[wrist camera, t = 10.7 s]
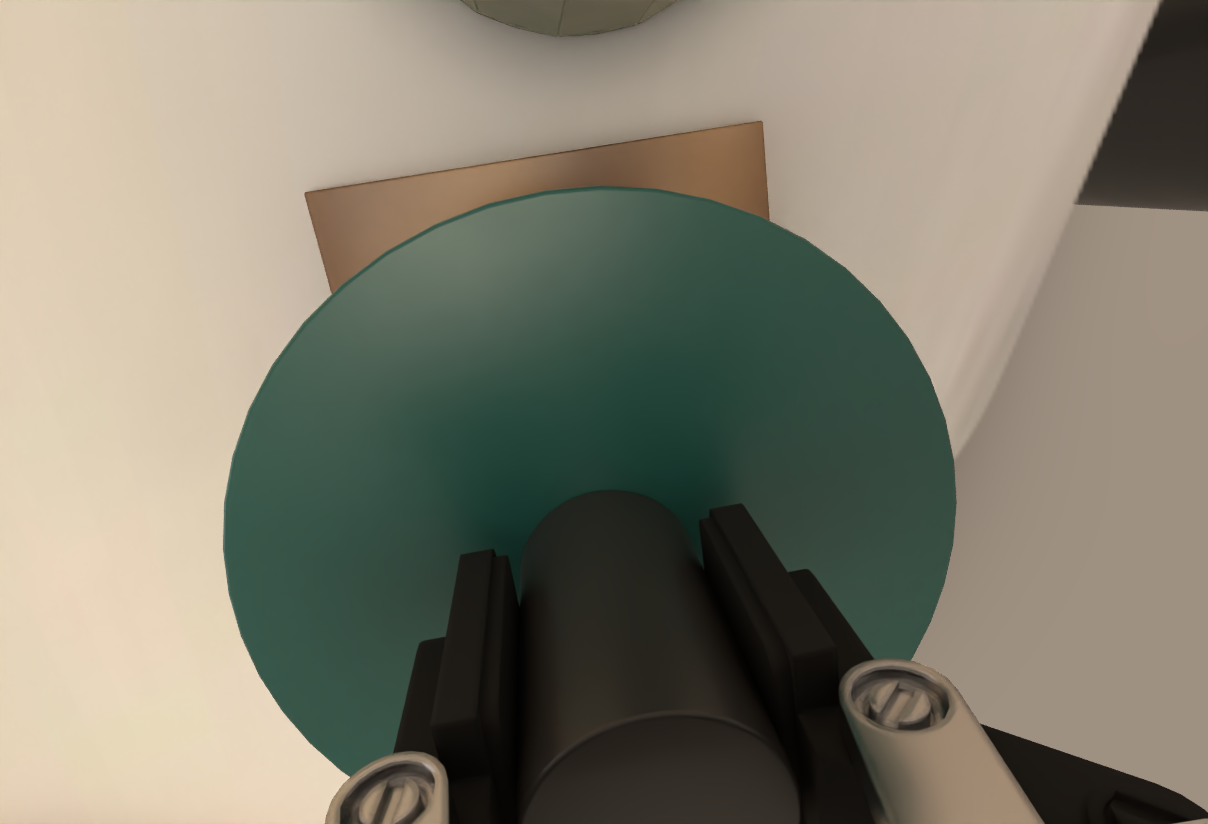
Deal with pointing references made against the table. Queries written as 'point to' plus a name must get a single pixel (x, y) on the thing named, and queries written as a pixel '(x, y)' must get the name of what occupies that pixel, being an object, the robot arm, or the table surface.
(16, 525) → the table surface
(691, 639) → the tin lid
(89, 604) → the table surface
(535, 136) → the table surface
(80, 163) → the table surface
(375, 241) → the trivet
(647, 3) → the enamel tin
